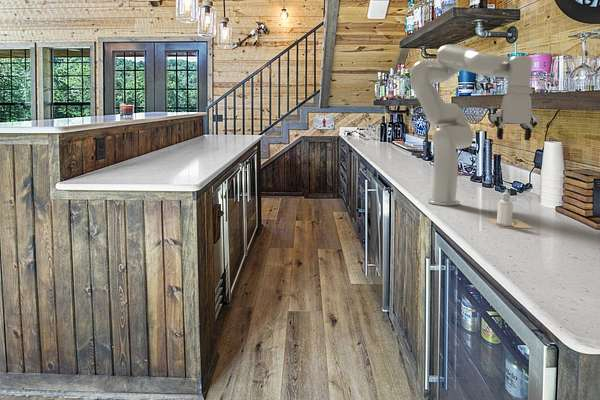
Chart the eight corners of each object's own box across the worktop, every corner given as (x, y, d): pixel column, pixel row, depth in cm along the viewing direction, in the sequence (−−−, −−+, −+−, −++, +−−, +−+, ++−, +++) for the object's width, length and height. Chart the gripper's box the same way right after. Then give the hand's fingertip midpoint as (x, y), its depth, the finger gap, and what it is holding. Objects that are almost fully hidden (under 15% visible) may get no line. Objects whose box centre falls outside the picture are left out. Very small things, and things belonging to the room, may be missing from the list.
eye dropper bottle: (497, 225, 199) (500, 190, 197) (496, 222, 204) (498, 187, 202) (511, 226, 198) (514, 191, 196) (509, 223, 203) (512, 188, 201)
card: (486, 219, 212) (486, 218, 212) (517, 220, 212) (517, 219, 212) (499, 227, 198) (500, 226, 198) (533, 228, 198) (533, 227, 198)
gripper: (538, 92, 216) (533, 139, 219) (490, 90, 216) (486, 138, 219) (546, 92, 209) (541, 141, 212) (496, 90, 209) (492, 139, 212)
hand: (513, 139), depth 216 cm, fingers open, 9 cm apart
